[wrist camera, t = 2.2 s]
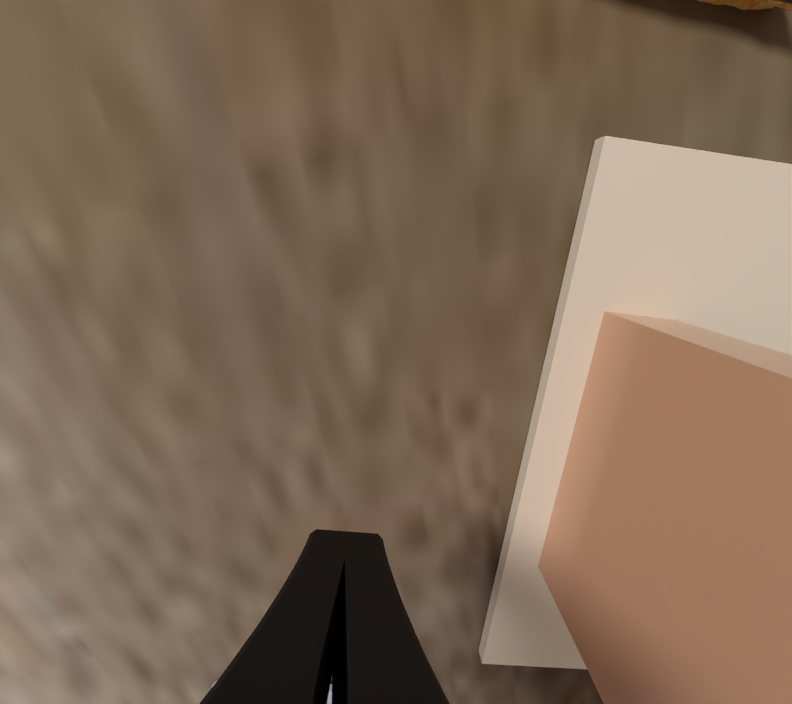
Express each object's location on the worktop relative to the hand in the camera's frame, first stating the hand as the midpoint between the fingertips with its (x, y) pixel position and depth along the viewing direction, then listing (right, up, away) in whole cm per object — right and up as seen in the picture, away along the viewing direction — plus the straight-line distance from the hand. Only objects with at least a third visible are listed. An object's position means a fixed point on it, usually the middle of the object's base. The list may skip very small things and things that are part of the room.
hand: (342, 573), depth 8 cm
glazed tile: (+8, +1, +7) cm, 11 cm away
